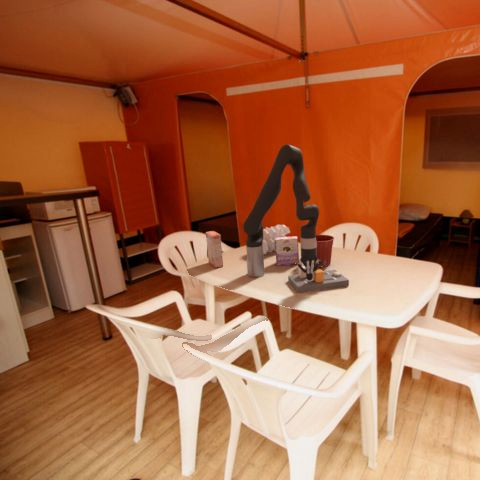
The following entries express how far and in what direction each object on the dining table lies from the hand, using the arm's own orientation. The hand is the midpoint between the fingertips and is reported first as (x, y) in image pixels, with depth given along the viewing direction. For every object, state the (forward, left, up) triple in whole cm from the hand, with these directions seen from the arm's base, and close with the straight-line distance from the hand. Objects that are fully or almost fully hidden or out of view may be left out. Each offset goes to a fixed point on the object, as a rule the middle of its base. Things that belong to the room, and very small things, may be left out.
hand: (309, 279), depth 162 cm
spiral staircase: (-2, +69, -5) cm, 69 cm away
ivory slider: (0, +8, -1) cm, 8 cm away
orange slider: (+5, 0, -1) cm, 5 cm away
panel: (+6, +4, -4) cm, 8 cm away
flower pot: (+19, +32, -4) cm, 37 cm away
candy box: (+1, +40, -4) cm, 40 cm away
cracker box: (-42, +55, -4) cm, 70 cm away
